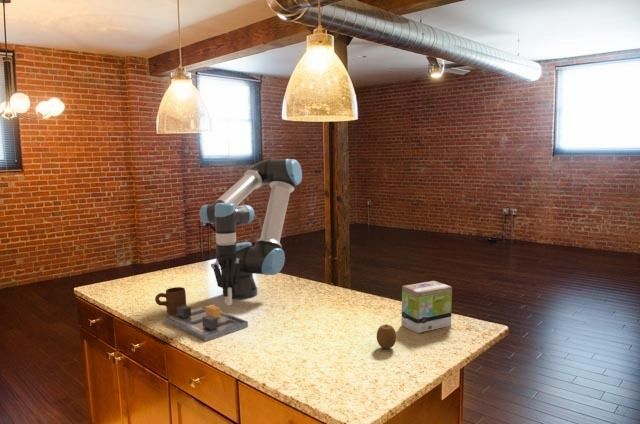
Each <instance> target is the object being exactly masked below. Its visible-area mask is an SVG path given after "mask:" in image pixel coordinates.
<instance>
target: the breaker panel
mask: <svg viewBox="0 0 640 424" xmlns="http://www.w3.org/2000/svg"><path fill="white" fill-rule="evenodd" d="M206 306H207V305H202V306H199V307H197V308H193V309H191V308H192V307H191V306H189V305H187V304H186V305H184V304H183V305H180V306H177V314H174V315H167V316H164V317H163V320H164V323H165V324H167V325H169V326H171V327H173V328H175V329H178V330H180V331H182V332H184V333H186V334H188V335H190V336H192V337H194V338H196V339H199V340H200V341H202V342H204V343H205V342H208V341H211V340H215V339H216V338H219V337H222V336H225V335H228V334H231V333H234V332H237V331H240V330H243V329H246V328H248V327H249V321H247V320H245V319H242V318H240V317H237V316H234V315H231V314H228V313H226V312H224V311H221V310H220V316H221V317H217V318H216V317H214V316H211V315H207V316H206Z"/></svg>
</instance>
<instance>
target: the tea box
mask: <svg viewBox="0 0 640 424" xmlns="http://www.w3.org/2000/svg"><path fill="white" fill-rule="evenodd" d="M401 287H402V288H401V289H402V290H401V320H400V321H401V325H402V326H403V327H405V328H407V329H409V330H411V331H413V332H414V333H417V334H421V333H423V332H427V331H428V332H429V331H431V330H437V329H442V328H447V327H448V328H449V327H451V326H452V314H453V313H452V308H453V307H452V304H453V303H452V302H453V301H452V300H453V287H452V286H451V285H448V284H445V283H442V282H439V281H436V280H430V281H424V282H419V283H413V284H407V285H402V286H401Z"/></svg>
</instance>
